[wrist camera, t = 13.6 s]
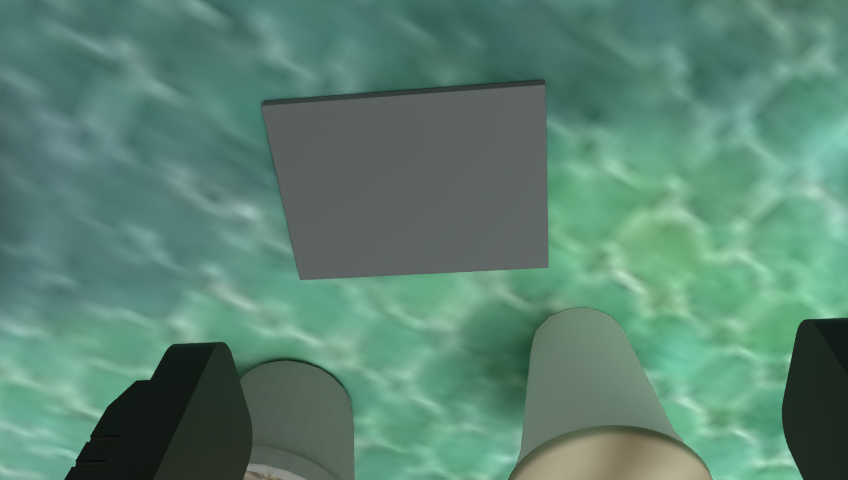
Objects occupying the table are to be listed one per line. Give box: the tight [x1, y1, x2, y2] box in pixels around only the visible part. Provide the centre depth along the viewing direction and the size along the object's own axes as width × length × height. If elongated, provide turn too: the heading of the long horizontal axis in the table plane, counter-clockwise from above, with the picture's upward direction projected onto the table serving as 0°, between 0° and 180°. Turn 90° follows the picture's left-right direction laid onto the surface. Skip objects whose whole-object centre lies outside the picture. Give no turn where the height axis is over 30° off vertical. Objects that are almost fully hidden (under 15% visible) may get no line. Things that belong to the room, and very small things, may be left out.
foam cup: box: [516, 308, 683, 465], centre depth 45 cm, size 10×9×13 cm
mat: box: [261, 80, 548, 280], centre depth 45 cm, size 16×12×1 cm
